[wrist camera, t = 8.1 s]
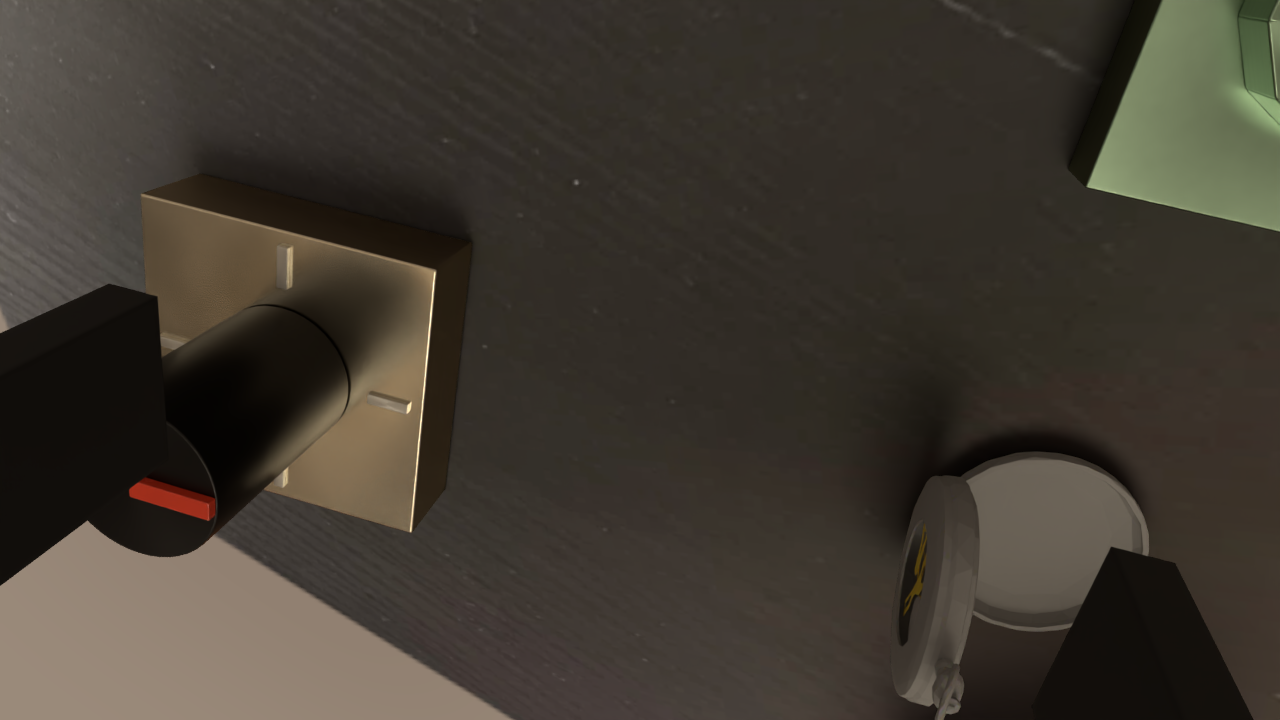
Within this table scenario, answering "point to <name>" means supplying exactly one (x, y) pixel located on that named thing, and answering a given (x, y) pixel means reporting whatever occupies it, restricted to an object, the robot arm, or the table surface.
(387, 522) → the panel
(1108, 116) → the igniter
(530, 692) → the table surface
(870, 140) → the table surface
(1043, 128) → the table surface
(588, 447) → the table surface
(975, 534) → the pocket watch
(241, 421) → the knob
